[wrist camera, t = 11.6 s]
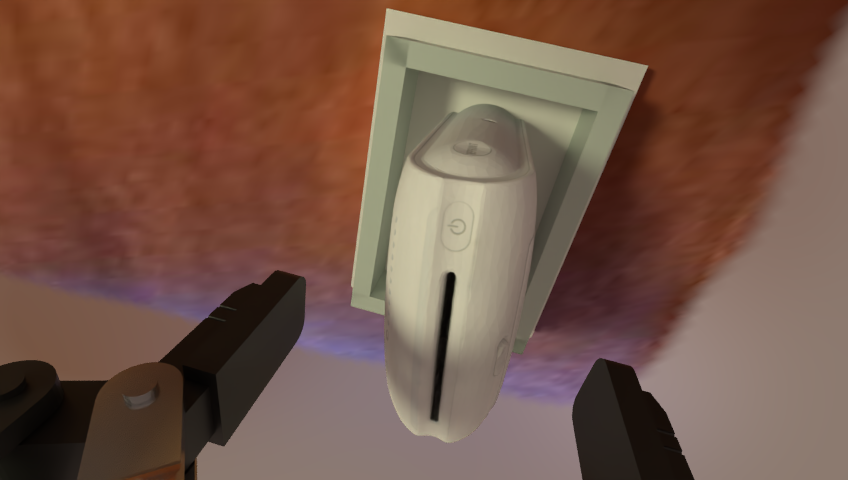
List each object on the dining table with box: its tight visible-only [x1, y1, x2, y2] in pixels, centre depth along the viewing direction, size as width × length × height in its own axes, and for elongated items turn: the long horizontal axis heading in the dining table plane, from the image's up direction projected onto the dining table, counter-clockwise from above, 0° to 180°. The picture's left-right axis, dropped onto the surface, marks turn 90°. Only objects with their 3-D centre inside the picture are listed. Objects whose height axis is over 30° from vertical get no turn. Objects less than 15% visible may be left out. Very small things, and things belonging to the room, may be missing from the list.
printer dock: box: [351, 8, 648, 354], centre depth 20 cm, size 16×12×4 cm
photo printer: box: [384, 104, 537, 443], centre depth 16 cm, size 10×4×12 cm, turn 176°
